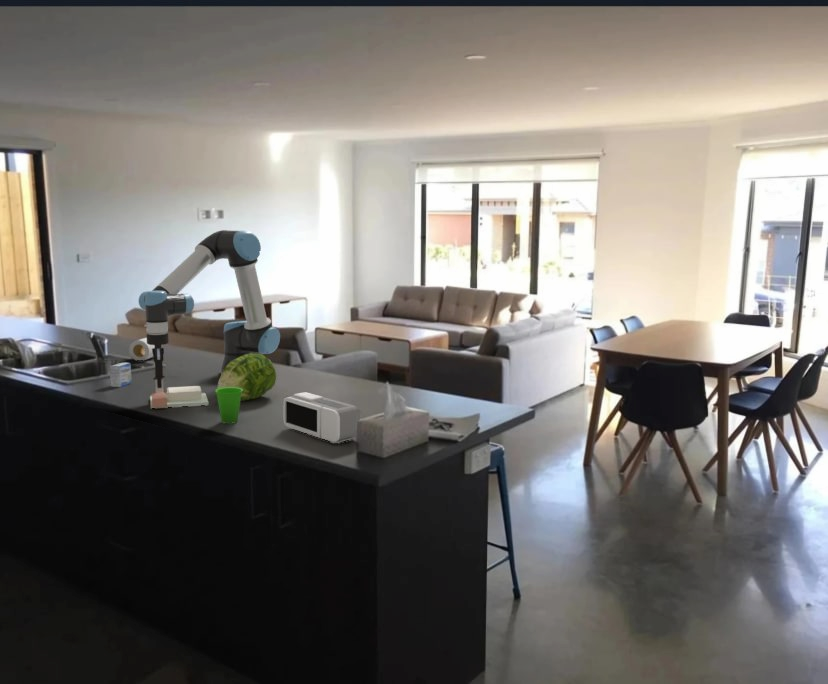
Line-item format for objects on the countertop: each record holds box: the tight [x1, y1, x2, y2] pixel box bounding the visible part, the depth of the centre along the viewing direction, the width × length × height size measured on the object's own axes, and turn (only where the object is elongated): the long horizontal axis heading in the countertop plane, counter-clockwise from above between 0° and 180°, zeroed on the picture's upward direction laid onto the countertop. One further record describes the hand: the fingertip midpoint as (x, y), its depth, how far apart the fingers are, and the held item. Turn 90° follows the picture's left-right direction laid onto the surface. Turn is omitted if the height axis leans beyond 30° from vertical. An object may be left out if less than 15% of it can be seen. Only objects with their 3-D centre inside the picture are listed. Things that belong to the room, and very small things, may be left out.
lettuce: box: [217, 352, 277, 402], centre depth 277 cm, size 17×23×17 cm
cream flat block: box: [166, 385, 203, 401], centre depth 275 cm, size 12×9×3 cm
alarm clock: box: [282, 391, 361, 444], centre depth 234 cm, size 27×9×12 cm, turn 47°
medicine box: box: [109, 362, 132, 388], centre depth 297 cm, size 8×4×9 cm, turn 169°
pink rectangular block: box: [151, 392, 167, 407], centre depth 264 cm, size 5×9×3 cm, turn 20°
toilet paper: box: [128, 337, 155, 362], centre depth 352 cm, size 10×10×10 cm
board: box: [149, 392, 209, 409], centre depth 272 cm, size 20×15×1 cm
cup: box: [214, 387, 243, 424], centre depth 247 cm, size 9×9×11 cm
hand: (159, 395), depth 272 cm, fingers closed
